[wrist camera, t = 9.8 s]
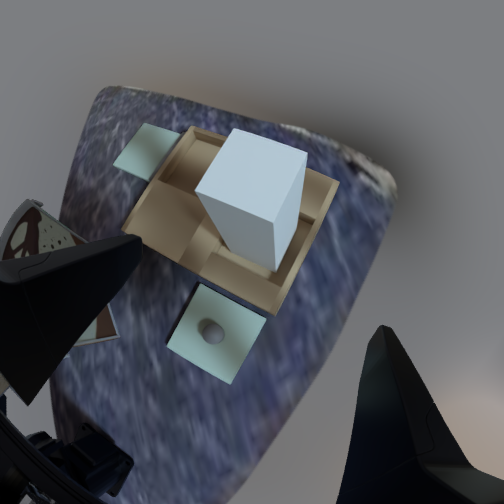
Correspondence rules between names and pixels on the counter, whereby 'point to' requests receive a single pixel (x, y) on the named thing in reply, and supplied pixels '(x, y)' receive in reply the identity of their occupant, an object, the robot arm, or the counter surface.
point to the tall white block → (255, 196)
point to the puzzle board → (211, 244)
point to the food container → (44, 240)
